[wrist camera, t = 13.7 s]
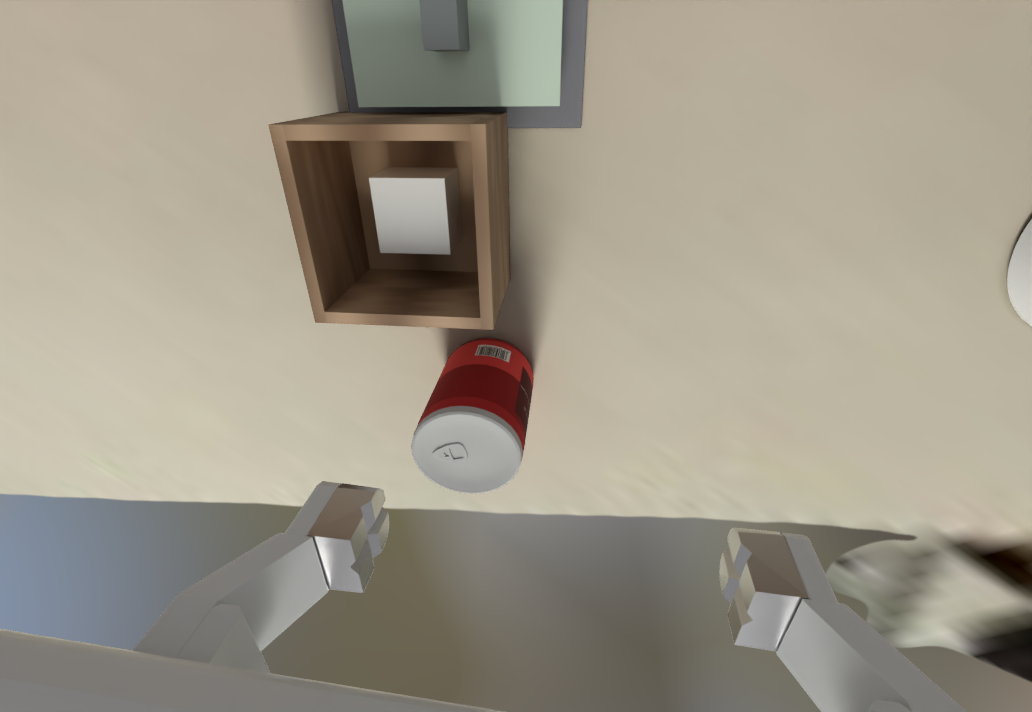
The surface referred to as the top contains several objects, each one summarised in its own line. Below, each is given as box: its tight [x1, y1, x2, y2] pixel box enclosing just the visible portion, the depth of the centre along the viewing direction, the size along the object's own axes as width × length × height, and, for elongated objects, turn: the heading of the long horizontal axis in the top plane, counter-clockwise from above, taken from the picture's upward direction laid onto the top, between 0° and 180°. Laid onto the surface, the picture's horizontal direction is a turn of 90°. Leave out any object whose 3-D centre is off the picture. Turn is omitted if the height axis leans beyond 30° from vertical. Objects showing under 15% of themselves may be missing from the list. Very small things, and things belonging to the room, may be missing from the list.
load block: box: [369, 167, 463, 255], centre depth 35 cm, size 5×5×4 cm
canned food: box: [411, 338, 534, 494], centre depth 40 cm, size 8×8×11 cm
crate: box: [269, 112, 511, 330], centre depth 33 cm, size 12×12×9 cm
